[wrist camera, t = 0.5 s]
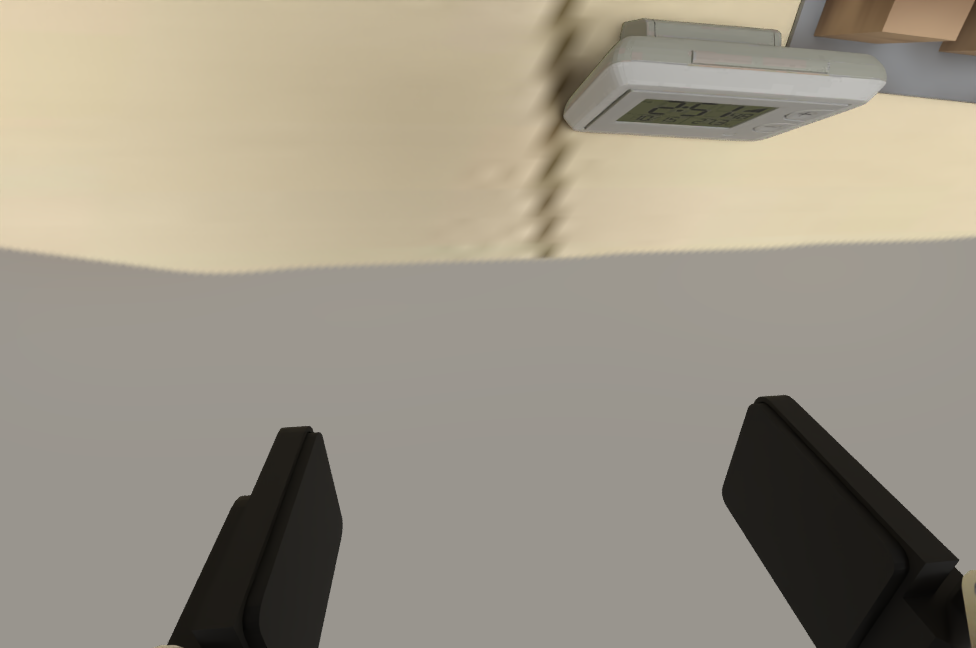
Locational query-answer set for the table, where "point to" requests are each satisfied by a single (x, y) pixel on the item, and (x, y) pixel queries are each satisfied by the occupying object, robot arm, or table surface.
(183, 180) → the table surface
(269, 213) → the table surface
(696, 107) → the digital clock
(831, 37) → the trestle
